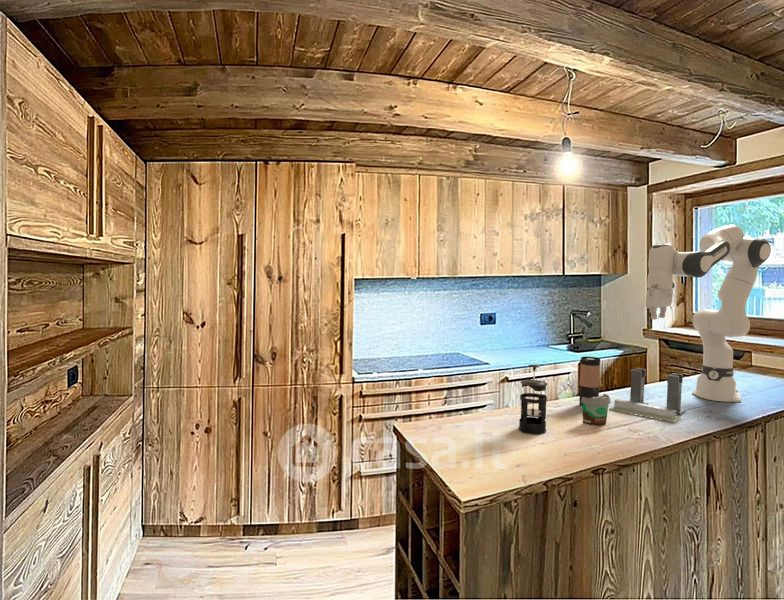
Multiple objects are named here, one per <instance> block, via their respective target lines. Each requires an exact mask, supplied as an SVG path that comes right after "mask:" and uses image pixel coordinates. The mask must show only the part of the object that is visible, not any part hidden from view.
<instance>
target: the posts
mask: <svg viewBox="0 0 784 600" xmlns="http://www.w3.org/2000/svg"><path fill="white" fill-rule="evenodd" d="M646 370H647V369H646V368H639V367H635V368H634V369H632V368H631V369H630V393H629V394H630V395H629V396H630V397H629V401H631V402H636V403H642V404H647V405H650V404H649V402H645V401H644V400H645V399H644V398H645V381H646V380H645V379H646V378H645V377H646V373H647V371H646ZM666 378H667V379H666V382H667V386H666V387H667V390H666V406H665V407H664V408H668V409H673V410H677V411H676V414H678V415H677V416H681V414H682V415H683V414H685V413H686V411H687V410H686V409H682V408H681V407H682V405H681V404H682V388H683V387H682V385H683V378H684V374H681V373H674V372H671V374H667V376H666ZM684 412H685V413H684Z"/></svg>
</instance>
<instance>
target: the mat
mask: <svg viewBox="0 0 784 600" xmlns="http://www.w3.org/2000/svg"><path fill="white" fill-rule="evenodd" d="M613 410H614V411H613ZM608 411H613V412H618V411H619V412H618V413H623V412H625V413H624V414H628V413H632V414H631V415H633V414H637V415H642V416H647V417H653V418H657V419H661V420H660V421H662V420H666V421H665V422H667V421H669V422H668V423H672V422H674V423H673V424H675V423H677V422H679V421H680V420H681V419H682V417H681V416H679V415H676V418H675V419H669V418H664V417H659V416H654V415H649V414H644V413H639V412H634V411H629V410H624V409H619V408H614V405H613V406H611V407H608ZM637 415H636V416H637ZM642 416H641V417H642ZM647 417H646V418H647ZM657 419H656V420H657ZM679 419H680V420H679ZM676 421H677V422H676Z"/></svg>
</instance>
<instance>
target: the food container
mask: <svg viewBox="0 0 784 600" xmlns="http://www.w3.org/2000/svg"><path fill="white" fill-rule="evenodd" d="M611 402H612V401H611V397H610V395H609V394H606V393H603V394H602V396H600V395H599V397H590V398H585V397H582V399H581V403H582V407H581V409H582V413H581V414H582V424H584V425H587V424H588V425H587V426H593V425H594V426H597V427H600V426H602V425H603V426H605V425H606V424H607V418H608V413H609V412H608V411H609V405H610V404H611Z"/></svg>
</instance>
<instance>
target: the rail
mask: <svg viewBox="0 0 784 600" xmlns="http://www.w3.org/2000/svg"><path fill="white" fill-rule="evenodd" d="M613 403H614V405H613V406H614V408H619V409H624V410H629V411H634V412H639V413H644V414H649V415H654V416H659V417H664V418H669V419H675V418H676V416H677V415H676V411H677V410H673V409H668V408H665V407H663V406H657V405H650V404H648V405H647V404H642V403H636V402H631V401H630V400H625V399H620V398H616V399H614V402H613Z"/></svg>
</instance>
